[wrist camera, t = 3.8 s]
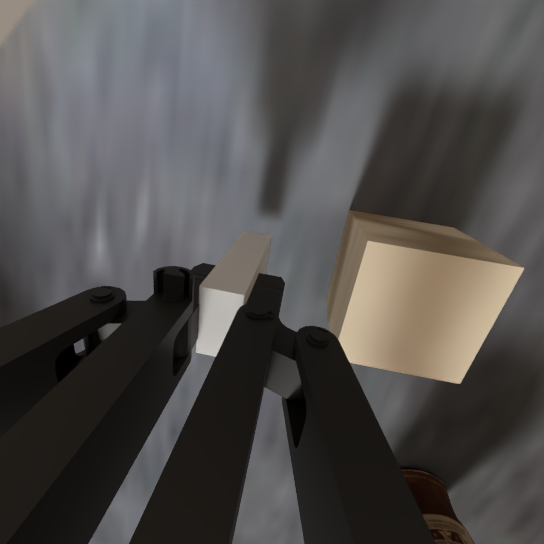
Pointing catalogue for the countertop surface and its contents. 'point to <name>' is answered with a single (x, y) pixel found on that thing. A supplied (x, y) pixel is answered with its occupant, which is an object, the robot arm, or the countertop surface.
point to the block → (415, 295)
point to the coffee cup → (436, 508)
